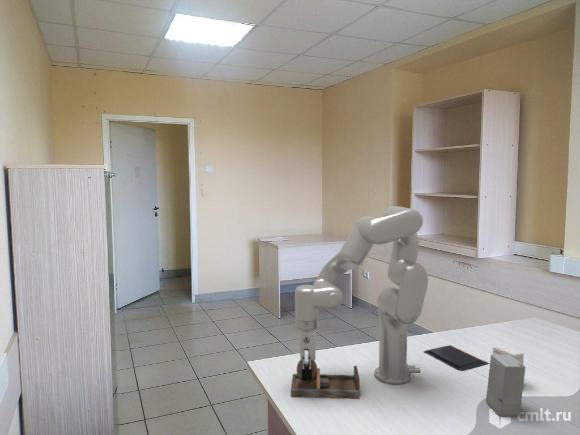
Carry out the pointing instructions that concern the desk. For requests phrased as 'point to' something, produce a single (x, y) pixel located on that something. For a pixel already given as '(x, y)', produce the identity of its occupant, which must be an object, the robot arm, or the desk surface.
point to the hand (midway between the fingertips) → (307, 374)
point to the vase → (313, 366)
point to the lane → (337, 387)
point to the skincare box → (505, 384)
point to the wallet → (456, 358)
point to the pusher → (321, 380)
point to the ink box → (508, 352)
